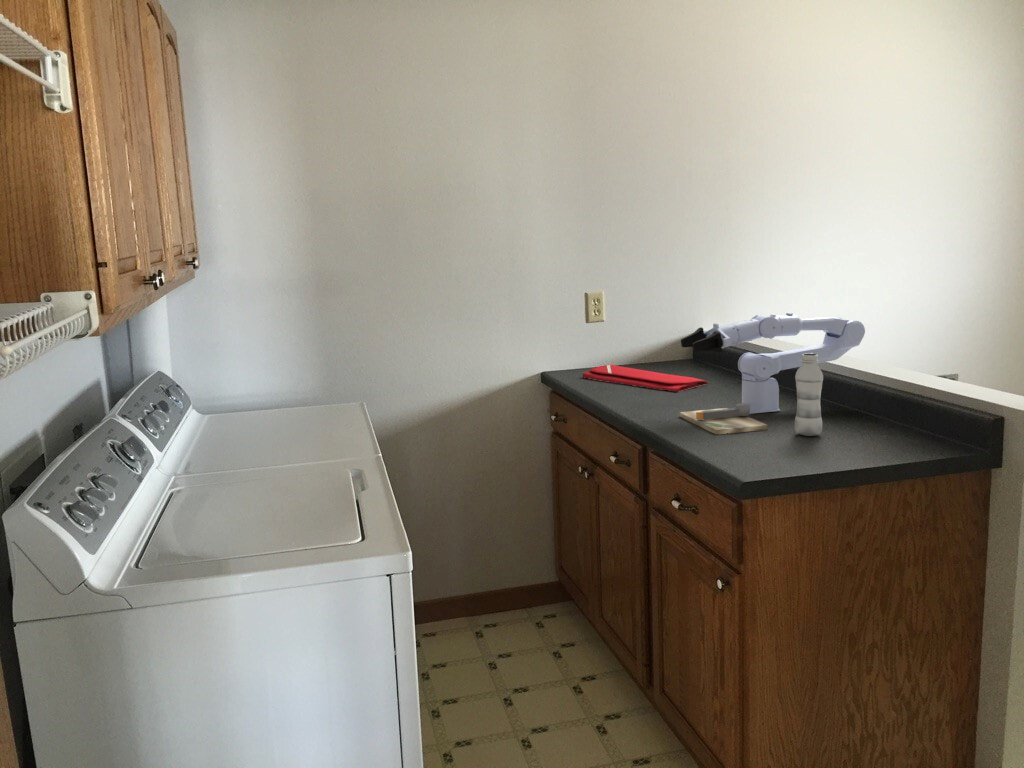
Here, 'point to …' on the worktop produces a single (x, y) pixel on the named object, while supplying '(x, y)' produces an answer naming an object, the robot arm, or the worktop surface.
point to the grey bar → (725, 412)
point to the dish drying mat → (642, 378)
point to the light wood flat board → (725, 423)
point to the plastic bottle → (808, 396)
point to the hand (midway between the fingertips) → (687, 345)
